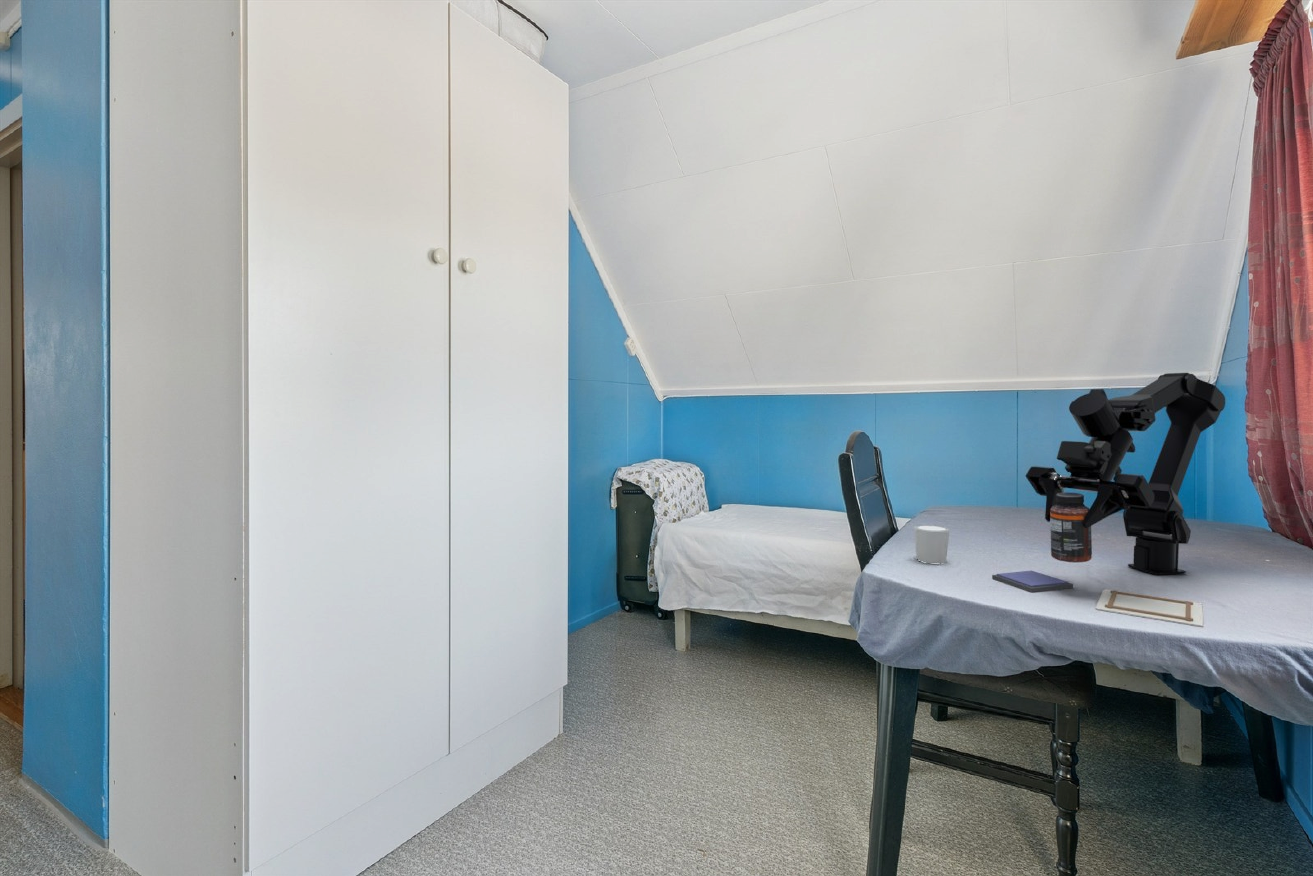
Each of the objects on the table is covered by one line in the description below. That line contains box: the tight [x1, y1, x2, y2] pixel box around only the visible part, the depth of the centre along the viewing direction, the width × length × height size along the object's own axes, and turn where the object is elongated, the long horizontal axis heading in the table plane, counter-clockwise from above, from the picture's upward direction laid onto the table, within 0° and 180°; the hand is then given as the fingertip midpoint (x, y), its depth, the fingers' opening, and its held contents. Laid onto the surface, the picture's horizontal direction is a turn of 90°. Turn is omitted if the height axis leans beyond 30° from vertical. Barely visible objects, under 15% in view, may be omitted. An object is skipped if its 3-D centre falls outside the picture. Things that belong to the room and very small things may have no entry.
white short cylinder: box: [913, 524, 951, 564], centre depth 132 cm, size 7×7×7 cm
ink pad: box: [991, 570, 1074, 593], centre depth 116 cm, size 9×9×1 cm
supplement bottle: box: [1049, 492, 1093, 563], centre depth 109 cm, size 6×6×11 cm
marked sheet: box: [1094, 588, 1204, 628], centre depth 102 cm, size 13×13×1 cm
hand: (1065, 523), depth 109 cm, fingers closed on supplement bottle, 6 cm apart
